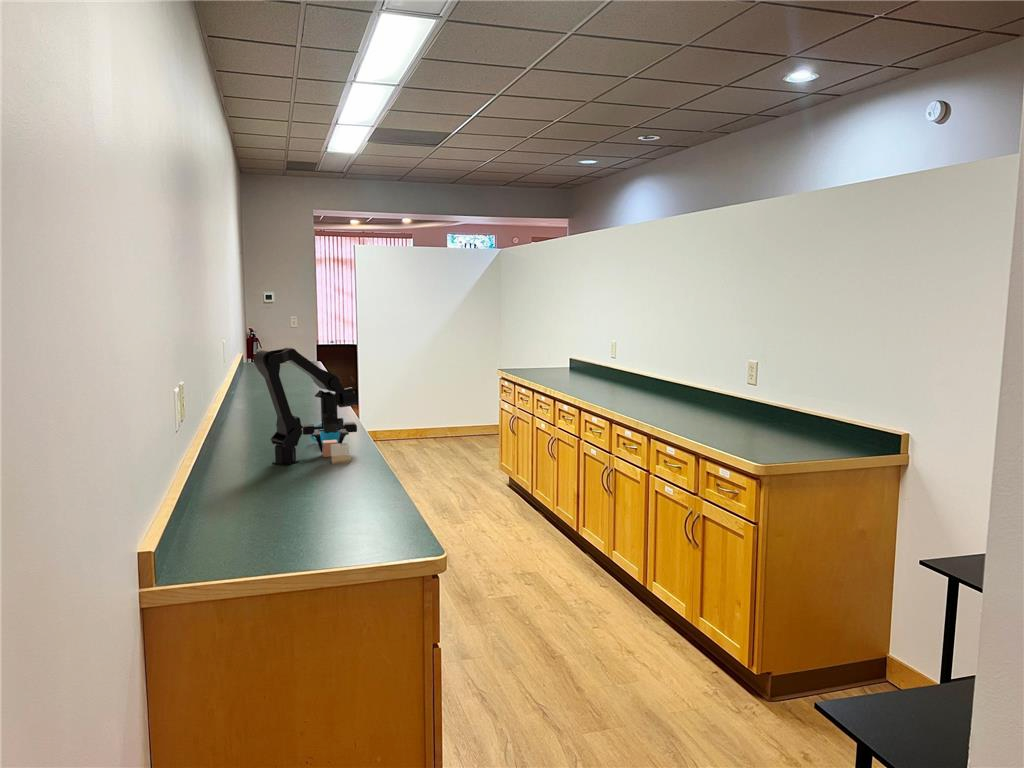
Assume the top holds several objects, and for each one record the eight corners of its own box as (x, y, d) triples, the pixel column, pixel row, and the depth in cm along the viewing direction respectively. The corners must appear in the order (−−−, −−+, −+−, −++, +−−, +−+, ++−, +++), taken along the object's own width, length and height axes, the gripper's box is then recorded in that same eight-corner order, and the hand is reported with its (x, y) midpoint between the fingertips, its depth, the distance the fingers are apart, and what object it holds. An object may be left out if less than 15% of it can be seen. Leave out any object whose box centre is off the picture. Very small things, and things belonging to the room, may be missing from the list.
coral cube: (338, 456, 266) (337, 442, 265) (323, 457, 264) (323, 443, 264) (336, 453, 270) (336, 439, 270) (322, 454, 269) (322, 440, 268)
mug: (342, 440, 293) (341, 420, 292) (342, 444, 285) (341, 423, 284) (310, 441, 290) (309, 421, 289) (309, 446, 282) (309, 424, 281)
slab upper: (349, 455, 255) (349, 446, 254) (331, 456, 253) (330, 447, 253) (348, 451, 260) (348, 443, 260) (330, 452, 259) (330, 444, 258)
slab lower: (350, 463, 255) (350, 454, 255) (332, 464, 254) (332, 456, 253) (348, 459, 261) (348, 451, 261) (331, 460, 259) (331, 452, 259)
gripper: (302, 413, 255) (304, 458, 257) (358, 411, 260) (359, 455, 262) (301, 408, 265) (302, 451, 267) (354, 406, 271) (355, 448, 273)
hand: (330, 452), depth 267 cm, fingers open, 6 cm apart
